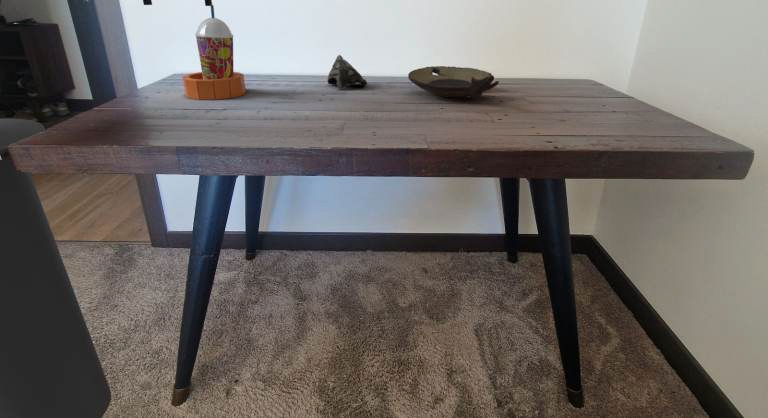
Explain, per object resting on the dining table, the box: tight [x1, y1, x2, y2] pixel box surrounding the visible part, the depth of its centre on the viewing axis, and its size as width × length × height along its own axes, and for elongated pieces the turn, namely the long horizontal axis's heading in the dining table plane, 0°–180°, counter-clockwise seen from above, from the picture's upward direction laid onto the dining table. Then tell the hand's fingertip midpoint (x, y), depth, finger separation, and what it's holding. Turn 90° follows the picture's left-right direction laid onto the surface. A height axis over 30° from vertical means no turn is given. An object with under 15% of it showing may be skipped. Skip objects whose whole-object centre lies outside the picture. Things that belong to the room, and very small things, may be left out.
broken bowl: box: [407, 65, 500, 99], centre depth 108 cm, size 22×30×8 cm
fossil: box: [326, 54, 368, 90], centre depth 118 cm, size 11×9×10 cm
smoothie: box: [195, 4, 235, 80], centre depth 104 cm, size 8×8×20 cm
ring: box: [181, 71, 247, 101], centre depth 108 cm, size 14×14×4 cm
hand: (178, 5), depth 100 cm, fingers open, 13 cm apart
